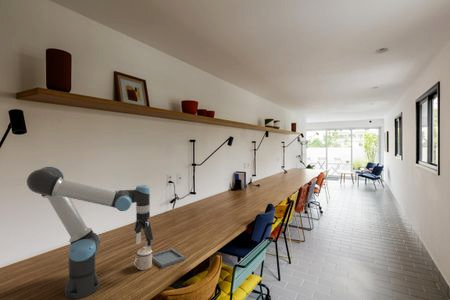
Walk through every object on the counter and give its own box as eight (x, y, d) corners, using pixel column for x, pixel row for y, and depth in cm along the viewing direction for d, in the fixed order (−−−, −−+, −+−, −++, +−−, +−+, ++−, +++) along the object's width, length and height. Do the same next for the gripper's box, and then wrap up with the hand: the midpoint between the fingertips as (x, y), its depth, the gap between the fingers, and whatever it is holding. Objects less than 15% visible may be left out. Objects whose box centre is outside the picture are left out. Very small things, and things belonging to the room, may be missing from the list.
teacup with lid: (145, 261, 155) (145, 243, 155) (155, 265, 150) (155, 246, 150) (128, 269, 145) (129, 249, 144) (139, 274, 140) (139, 254, 140)
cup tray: (161, 268, 147) (161, 264, 147) (149, 258, 159) (149, 255, 159) (185, 259, 158) (185, 256, 158) (172, 251, 170) (172, 248, 170)
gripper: (158, 215, 140) (159, 252, 140) (140, 206, 158) (140, 239, 159) (146, 218, 135) (146, 256, 135) (128, 208, 153) (128, 242, 154)
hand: (143, 247), depth 147 cm, fingers open, 13 cm apart
